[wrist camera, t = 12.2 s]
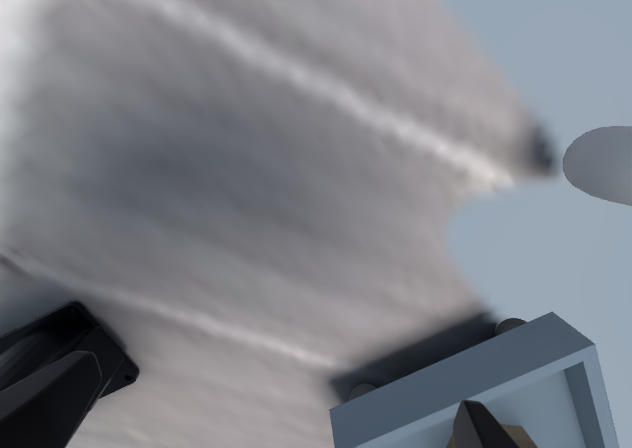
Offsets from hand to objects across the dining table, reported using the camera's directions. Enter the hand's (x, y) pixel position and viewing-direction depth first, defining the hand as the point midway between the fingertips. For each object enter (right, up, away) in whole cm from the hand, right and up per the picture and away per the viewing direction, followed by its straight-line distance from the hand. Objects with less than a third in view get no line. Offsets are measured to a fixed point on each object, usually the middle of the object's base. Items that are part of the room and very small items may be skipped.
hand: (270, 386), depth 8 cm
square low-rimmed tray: (+12, -10, +17) cm, 23 cm away
